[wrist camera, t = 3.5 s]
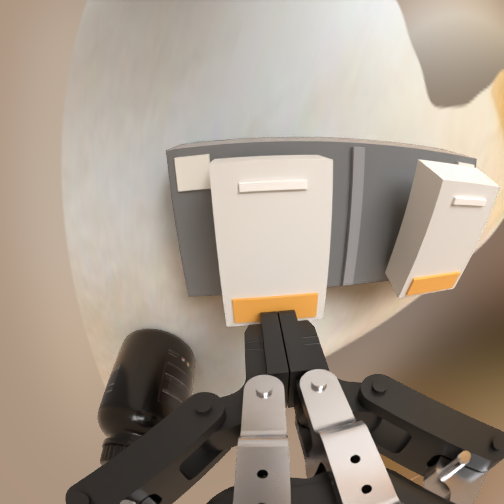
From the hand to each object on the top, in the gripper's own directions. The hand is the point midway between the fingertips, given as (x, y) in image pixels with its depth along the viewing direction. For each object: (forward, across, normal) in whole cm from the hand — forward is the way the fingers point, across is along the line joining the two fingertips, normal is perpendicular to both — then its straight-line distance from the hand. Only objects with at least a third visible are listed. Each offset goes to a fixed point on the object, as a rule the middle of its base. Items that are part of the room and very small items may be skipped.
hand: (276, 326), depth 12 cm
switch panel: (+7, -4, -4) cm, 9 cm away
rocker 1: (+1, 0, -4) cm, 4 cm away
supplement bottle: (+8, +10, +9) cm, 16 cm away
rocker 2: (+1, -9, -4) cm, 10 cm away
